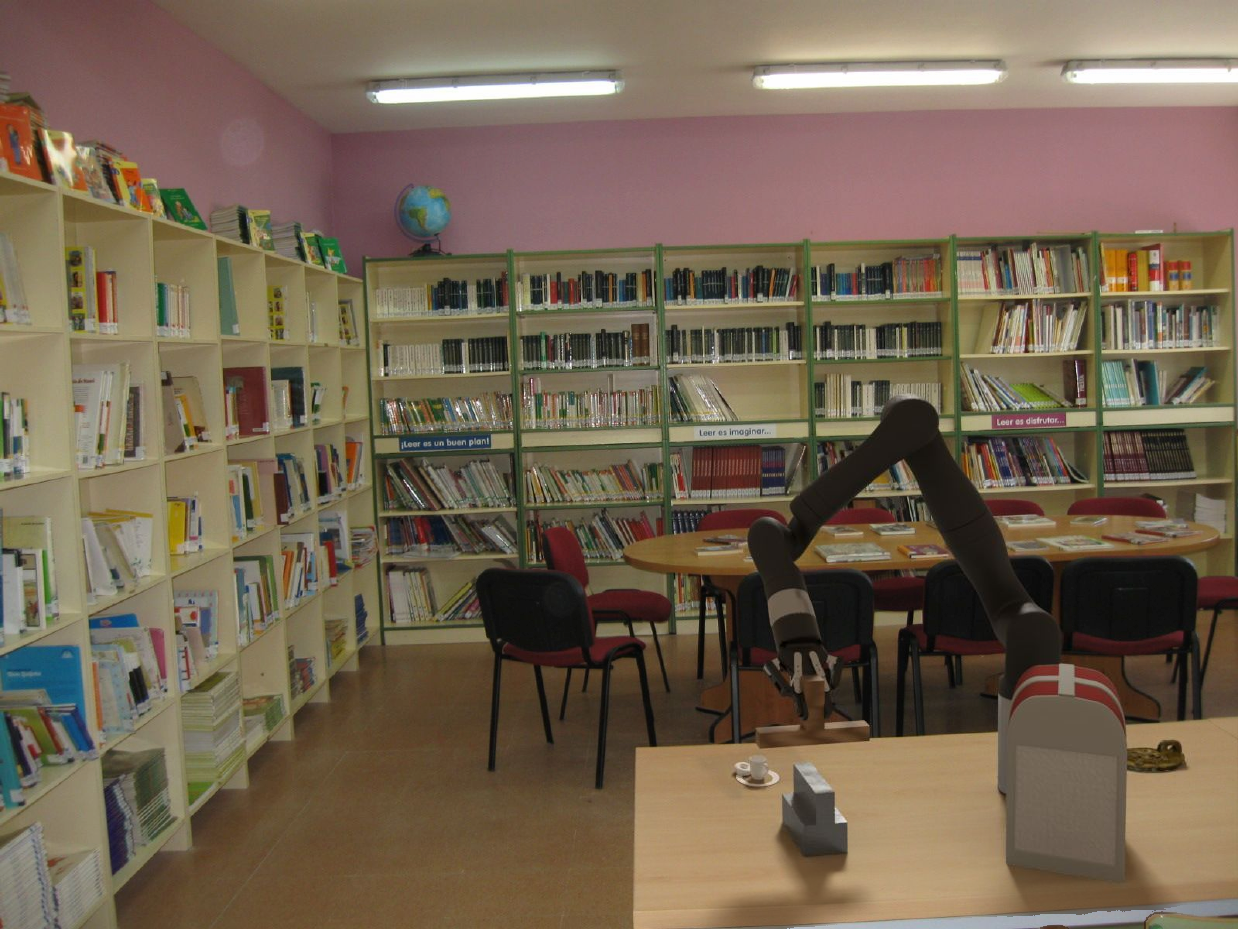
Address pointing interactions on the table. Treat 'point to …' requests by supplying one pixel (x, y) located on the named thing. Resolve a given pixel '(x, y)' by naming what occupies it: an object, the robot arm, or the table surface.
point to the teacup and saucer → (755, 771)
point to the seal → (1156, 757)
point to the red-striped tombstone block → (1066, 773)
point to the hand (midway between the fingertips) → (816, 717)
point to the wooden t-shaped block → (813, 724)
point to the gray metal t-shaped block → (813, 814)
